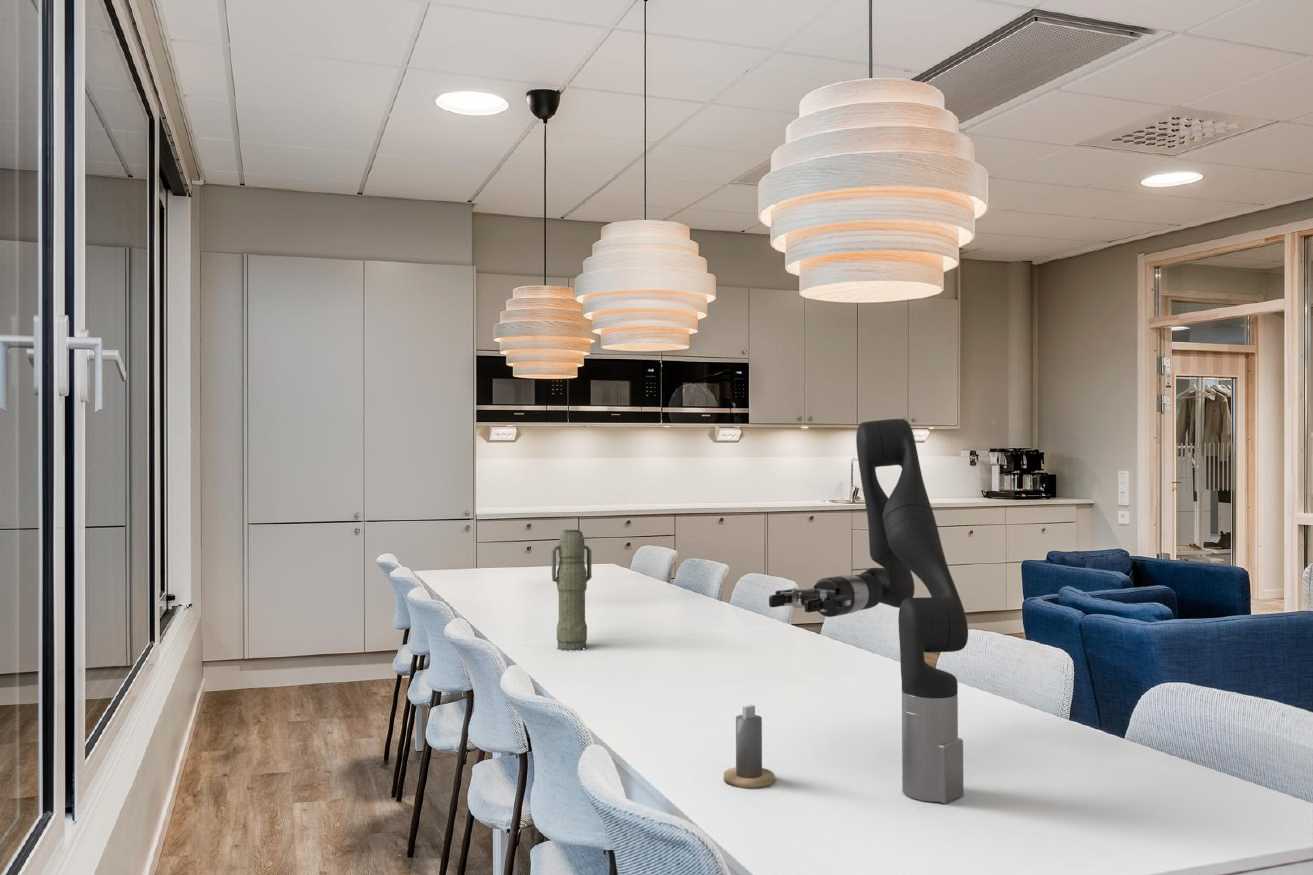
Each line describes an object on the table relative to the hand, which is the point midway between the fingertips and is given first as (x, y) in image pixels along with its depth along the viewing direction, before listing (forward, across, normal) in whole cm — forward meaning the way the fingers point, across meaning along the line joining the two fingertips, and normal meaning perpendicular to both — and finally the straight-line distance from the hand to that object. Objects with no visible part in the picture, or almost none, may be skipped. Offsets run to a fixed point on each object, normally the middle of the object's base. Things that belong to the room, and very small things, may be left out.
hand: (788, 604), depth 186 cm
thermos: (-41, -116, +30) cm, 127 cm away
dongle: (+11, 0, +29) cm, 31 cm away
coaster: (+11, 0, +30) cm, 32 cm away
